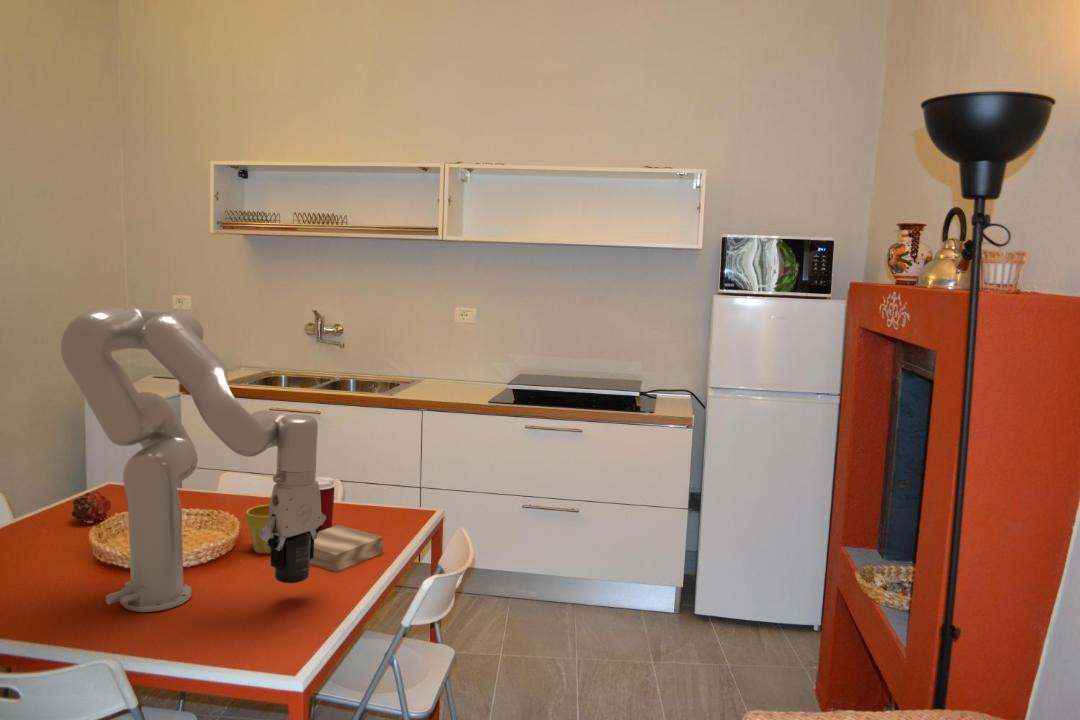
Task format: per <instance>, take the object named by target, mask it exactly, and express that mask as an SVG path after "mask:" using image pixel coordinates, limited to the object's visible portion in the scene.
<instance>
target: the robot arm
mask: <svg viewBox="0 0 1080 720" xmlns="http://www.w3.org/2000/svg"><path fill="white" fill-rule="evenodd" d="M203 339H204V328H203V325H202V324H201V322H200V321H199V320H198V318H197V317H196V316H193V315H192V314H190V313H188V312H183V311H176V310H175V311H173V310H160V309H153V308H152V309H150V308H141V307H129V306H127V307H126V306H125V307H124V306H119V307H111V308H110V307H109V308H97V309H92V310H91V309H90V310H87V311H85V312H82V313H81V314H79V315H77V316H76V317H75V318H74V319H72V320H71V322H70V323H69V324H67V326H66V328H65V330H64V332H63V334H62V338H61V340H60V341H61V342H60V353H61V357H62V361H63V363H64V365H65V367H66V369H67V371H68V372H69V374H70V375H71V377H72V379H73V381H74V382H75V384H76V385H77V386H78V388H79V390H80V392H81V393H82V395H83V396H84V399H85V400H86V402H87V404H88V407H90V410H91V411H92V413H93V414H94V416H95V418H96V419H97V422H98V423H99V425H100V427H101V429H102V431H103V432H104V434H105V435H106V437H107V438H108V439H109V441H111V443H113V444H115V445H117V446H120V447H130V446H131V447H132V446H134V445H137V444H140V445H141V448H142V449H140V450H138V451H137V452H135V453H134V454H133V455H132V456H131V457H130V458H129V459H128V461H127V462H126V464H125V466H124V470H123V475H122V478H123V485H124V491H125V496H126V501H127V509H128V528H129V529H128V531H129V532H128V533H129V563H130V565H129V566H130V580H128V581H126V582H124V587H122V588H121V590H119V591H115V592H112V593H108V594H106V595H105V601H106V604H107V605H111V604H115V603H117V602H119V603H120V604H121V605H122V606H123V607H124V608H125V609H126V610H129V611H132V612H137V613H138V612H139V613H149V612H151V613H152V612H159V611H160V612H161V611H166V610H169V609H172V608H176V607H178V606H180V605H182V604H185V602H187V601H188V600H190V599H191V597H192V593H193V592H192V587H191V586H190V585H188V584H186V583H184V560H183V559H184V558H183V553H184V552H183V547H184V546H183V512H182V511H183V510H182V504H181V500H180V496H179V493H178V485H179V483H181V482H183V481H185V480H186V479H188V478H189V477H190V476H191V475H193V473H194V472H195V470H196V468H197V466H198V465H197V464H198V453H197V450H196V447H195V445H194V443H193V441H192V439H191V437H190V435H189V434H188V432H187V431H186V429H185V427H184V425H183V423H182V421H181V420H180V418H179V417H178V414H177V413H176V411H175V409H174V408H173V407H172V405H171V403H170V402H169V401H168V400H167V399H166V398H165V397H163V396H162V395H160V394H158V393H155V392H151V391H144V392H143V391H142V392H138V390H137V389H136V387H135V386H134V384H133V383H132V380H131V379H130V377H129V374H128V373H127V372H126V371H125V369H124V367H122V365H120V364H119V362H117V361H116V360H115V359H114V357H113V356H112V354H113V352H116V351H121V350H127V349H138V350H147V351H148V352H149V353H150V354H151V355H152V356H153V357H154V358H155V359H156V360H157V361H158V362H159V363H160V365H162V366H163V367H164V368H165V369H166V370H167V371H168V373H170V374H171V376H173V378H175V379H176V380H177V381H178V383H180V385H181V386H183V388H184V389H186V391H187V392H188V393H189V394H190V396H191V397H192V400H193V403H194V405H195V407H196V409H197V411H198V413H199V414H200V417H201V418H202V420H203V422H204V423H205V424H206V425H207V427H208V428H209V429H210V431H212V433H214V435H216V437H217V438H219V440H220V441H222V442H223V444H224V445H226V447H227V448H229V449H230V450H231V451H232V452H234V453H235V454H237V455H239V456H242V457H247V458H248V457H257V456H258V455H261V454H262V453H263V452H265V451H266V450H268V449H270V448H273V447H277V451H276V452H277V454H276V455H277V456H276V475H273V476H272V481H273V482H274V483H275V484H274V485H273V488H272V492H271V495H270V496H271V497H270V501H269V504H270V508H269V520H268V523H267V524H266V525H265V526H264V528H263V529H262V530H261V531H260V533H259V536H260V537H261V538H262V539H263V540H264V542H265V543H266V544H267V545H268V547H270V548H271V553H270V566H271V567H272V568H274V567H275V568H277V569H280V570H281V569H283V568H284V550H283V549H282V547H283V544H284V542H285V540H286V538H289V537H293V536H296V535H299V534H303V533H306V532H308V533H309V534H310V536H311V549H310V559H313V556H314V540H315V539H316V538H317V533H318V532H319V531H320V529H321V525H322V524H323V523H324V521H325V520H326V516H325V515H324V514H323V513H322V512H321V496H320V489H319V484H318V481H316V480H315V478H316V467H317V454H318V453H317V451H318V450H317V448H318V429H319V428H318V425H319V424H318V423H319V422H318V421H317V419H316V418H315V417H313V416H310V415H308V414H306V415H305V414H286V413H281V412H275V411H272V410H263V409H262V410H258V411H257V410H256V411H254V412H253V413H251V414H250V412H248V411H247V410H246V409H245V407H244V406H243V405H242V404H241V403H240V402H239V401H238V399H237V398H236V397H235V395H234V394H233V392H232V391H231V389H230V386H229V385H230V384H229V381H228V380H229V379H228V375H229V374H228V368H227V365H226V364H225V362H224V361H223V360H221V358H219V356H218V355H216V354H215V352H213V351H212V350H211V349H210V348H209V347H208V345H206V344H205V342H204V341H203ZM270 533H273V534H272V537H271V536H270ZM278 536H280V538H279V540H278V542H276V541H277V538H278Z"/></svg>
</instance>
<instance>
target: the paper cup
mask: <svg viewBox="0 0 1080 720" xmlns="http://www.w3.org/2000/svg"><path fill="white" fill-rule="evenodd" d="M315 480H316V481H318V484H319V489H320V496H321V512H322V513H323V514H324V515H325V516H326V520H325V521H324V523H323V524H322V525H321V529H320V531H322V530H325V529H328V528H331V527H333V516H334V515H333V513H334V503H335V502H334V501H335V487H336V486H337V484H336V482H335V480H334V479H333V478H331V477H325V476H320V477H315Z"/></svg>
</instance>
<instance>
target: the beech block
mask: <svg viewBox="0 0 1080 720" xmlns="http://www.w3.org/2000/svg"><path fill="white" fill-rule="evenodd" d="M383 553H384V537H383V536H381V535H379V534H378V535H377V534H373V533H369V532H366V531H363V530H360V529H356V528H352V527H349V526H345V525H342V524H337V525H334V526H332V527H331V528H328V529H325V530H322V531H319V532H318V533H317V538H316V539H315V540H314V556H313V559H310V565H313V566H316V567H318V568H322V569H325V570H328V571H332V572H335V573H337V572H339V571H342V570H344V569H347V568H350V567H353V566H355V565H356V564H359V563H361V562H364V561H367V560H369V559H372V558H375V557H376V556H380V555H382V554H383ZM374 556H375V557H374Z"/></svg>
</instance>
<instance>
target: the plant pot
mask: <svg viewBox="0 0 1080 720" xmlns="http://www.w3.org/2000/svg"><path fill="white" fill-rule="evenodd" d="M269 508H270V503H269V504H260V505H256V506H253V507H250V508H248V509H247V510H246V512H245V525H246V527H248V528H249V532H250V537H251V542H252V546H253V550H254V552H255V553H257V554H265V555H271V548H270V547H268V545H267V544H266V543H265V542H264V540H263V539H262V538H261V537H260V536H259V533H260V531H261V530H262V529H263V528H264V526H265V525H266V524H267V523H268V520H269ZM272 534H273V533H270V536H271V537H272Z"/></svg>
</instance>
